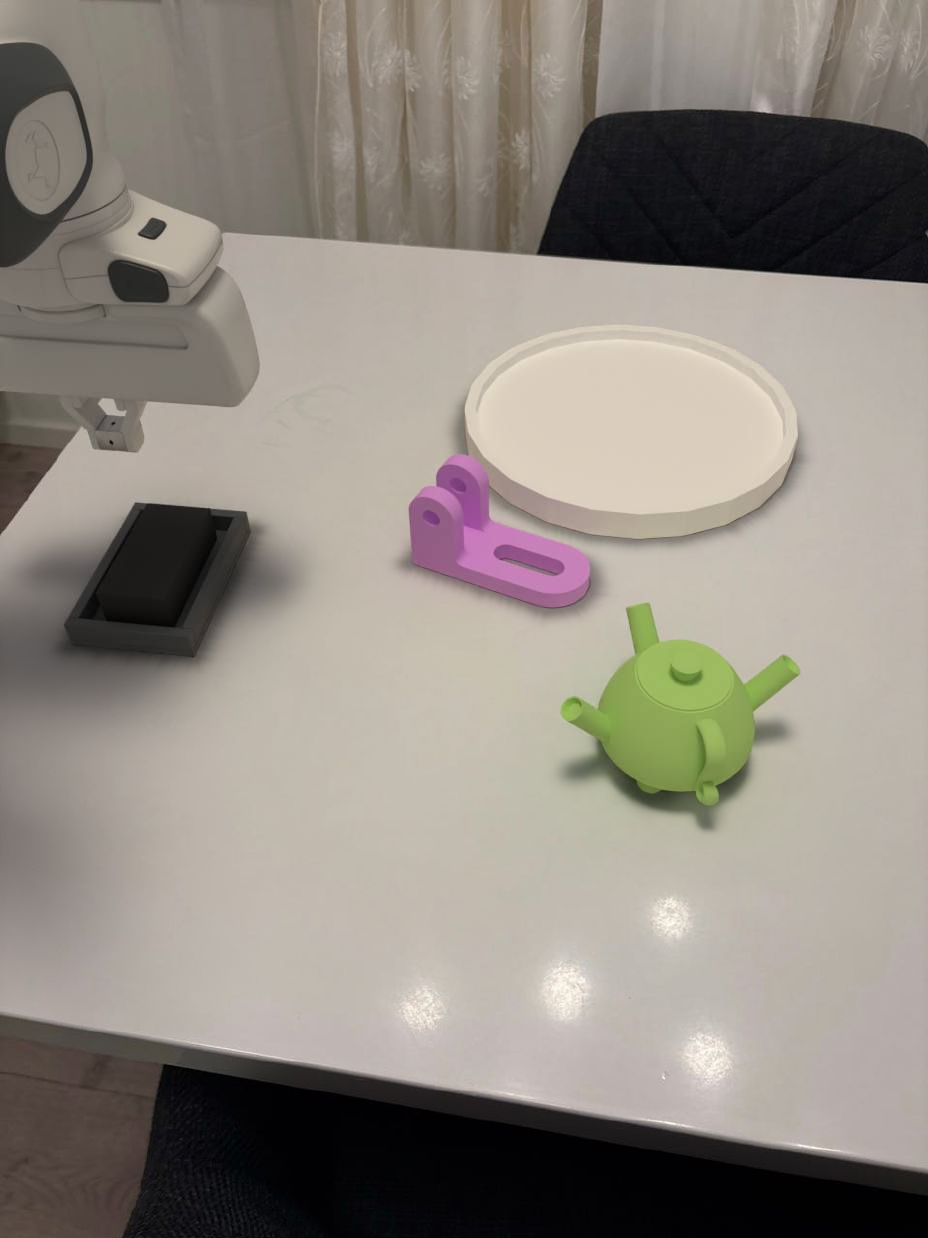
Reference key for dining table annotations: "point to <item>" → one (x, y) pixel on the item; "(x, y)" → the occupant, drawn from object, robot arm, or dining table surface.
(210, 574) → the base tray
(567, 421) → the plate
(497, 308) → the dining table surface
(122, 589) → the black rectangular block
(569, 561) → the bracket
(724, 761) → the teapot
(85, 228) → the robot arm
